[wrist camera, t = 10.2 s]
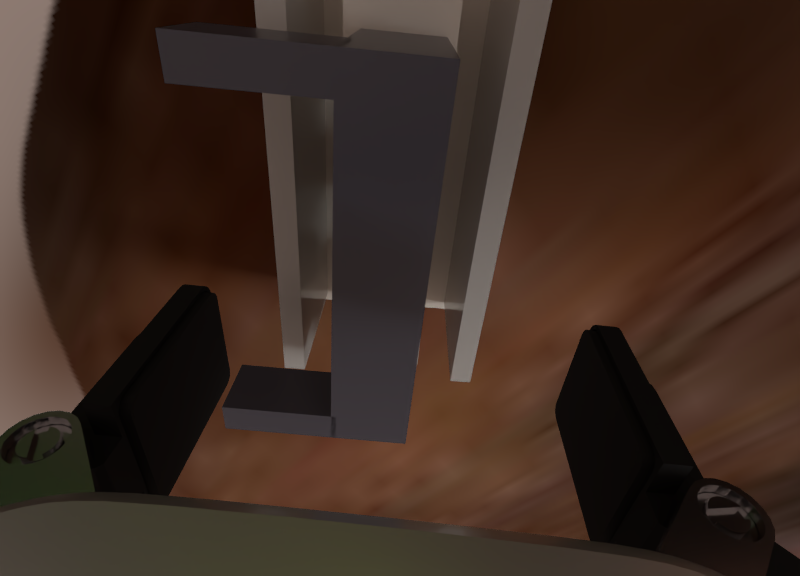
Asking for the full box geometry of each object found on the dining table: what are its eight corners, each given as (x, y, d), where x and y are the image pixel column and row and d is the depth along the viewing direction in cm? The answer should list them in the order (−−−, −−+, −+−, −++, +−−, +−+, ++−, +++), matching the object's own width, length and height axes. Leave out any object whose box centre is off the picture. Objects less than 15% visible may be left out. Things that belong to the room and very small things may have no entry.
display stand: (521, -29, 21) (570, -38, 14) (462, 301, 30) (474, 389, 24) (297, -49, 20) (238, -68, 14) (310, 289, 30) (279, 374, 24)
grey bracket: (447, 37, 16) (460, 59, 11) (408, 346, 24) (405, 443, 19) (238, 15, 16) (154, 27, 11) (267, 333, 23) (226, 428, 18)
